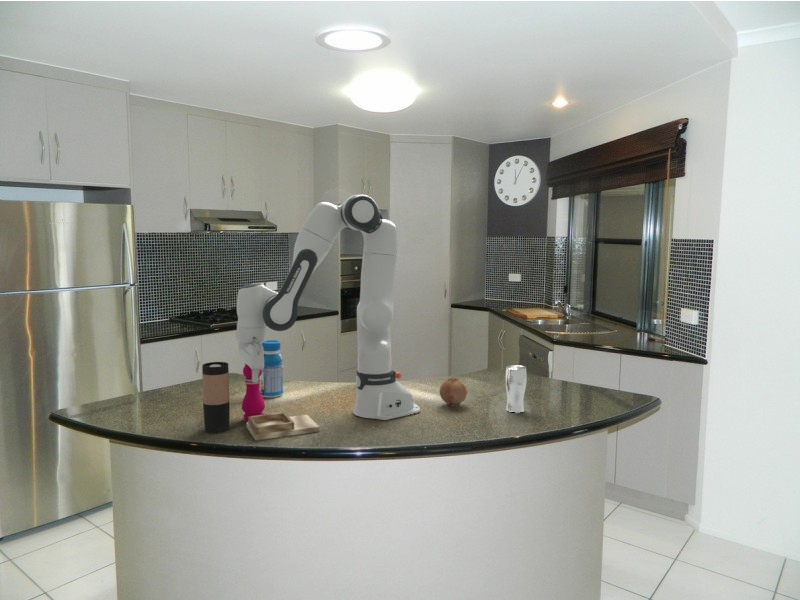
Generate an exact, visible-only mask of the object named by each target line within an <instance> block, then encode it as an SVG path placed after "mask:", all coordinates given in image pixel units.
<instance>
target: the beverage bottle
mask: <svg viewBox="0 0 800 600" xmlns="http://www.w3.org/2000/svg"><path fill="white" fill-rule="evenodd" d="M262 346H263V350H264V369H263V370H262V374H261V376H260V378H261V382H260V392H261V395H262V397H263V398H268V399H269V398H270V399H271V398H273V397H274V398H278V396H279V397H281V396H283V394H284V384H283V383H284V382H283V379H284V378H283V371H284V365H283V359H284V358H283V356H282V354H281V353H280V351H281V341H280V340H275V339H273V340H270V339H269V340H267V339H266V340H265V341H263V342H262ZM274 398H273V399H274Z"/></svg>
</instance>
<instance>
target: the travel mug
mask: <svg viewBox="0 0 800 600" xmlns="http://www.w3.org/2000/svg"><path fill="white" fill-rule="evenodd" d="M201 367H202V369H201V370H202V374H201V377H202V405H203V407H202V408H203V422H204V431H205V432H206V433H208V432H209V433H210V434H219V432H220V433H224V431H225V432H227V431H229V429H230V417H231V416H230V413H231V412H230V411H231V410H230V409H231V407H230V406H231V405H230V404H231V403H230V400H231V399H230V398H231V397H230V378H229V377H230V375H229V374H230V373H229V363H228V362H227V361H210V362H206V363H203V364H202V365H201Z"/></svg>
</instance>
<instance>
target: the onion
mask: <svg viewBox="0 0 800 600" xmlns="http://www.w3.org/2000/svg"><path fill="white" fill-rule="evenodd" d="M467 392H468V391H467V388H466V385H465V384H464V383H463V381H460V380H459V379H458V378H457V377H454V376H453V377H451V378H448V379H446V380H444V381H443V383H442V384H441V385H440V387H439V396H440V398H441V400H442V401H443V402H444V403H445V404H447V405H448V406H452V407H453V405H454V406H457V405H459V404H460V405H461V403H462V402H464V401H466V398H467V395H468V393H467Z"/></svg>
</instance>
